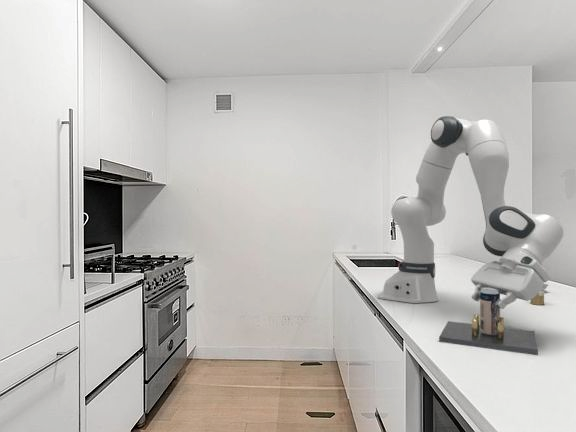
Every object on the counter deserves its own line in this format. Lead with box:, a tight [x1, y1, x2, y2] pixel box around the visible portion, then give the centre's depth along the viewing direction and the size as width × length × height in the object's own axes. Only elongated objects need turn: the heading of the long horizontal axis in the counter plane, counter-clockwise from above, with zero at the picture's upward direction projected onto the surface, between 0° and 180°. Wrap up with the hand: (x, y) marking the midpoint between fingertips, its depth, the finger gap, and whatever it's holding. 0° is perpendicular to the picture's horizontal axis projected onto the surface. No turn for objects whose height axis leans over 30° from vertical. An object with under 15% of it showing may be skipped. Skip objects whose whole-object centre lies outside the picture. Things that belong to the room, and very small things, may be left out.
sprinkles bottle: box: [529, 267, 546, 306], centre depth 156 cm, size 5×5×14 cm
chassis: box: [438, 314, 539, 356], centre depth 113 cm, size 22×18×5 cm
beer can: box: [479, 287, 501, 336], centre depth 112 cm, size 5×5×12 cm
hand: (486, 303), depth 112 cm, fingers open, 8 cm apart
